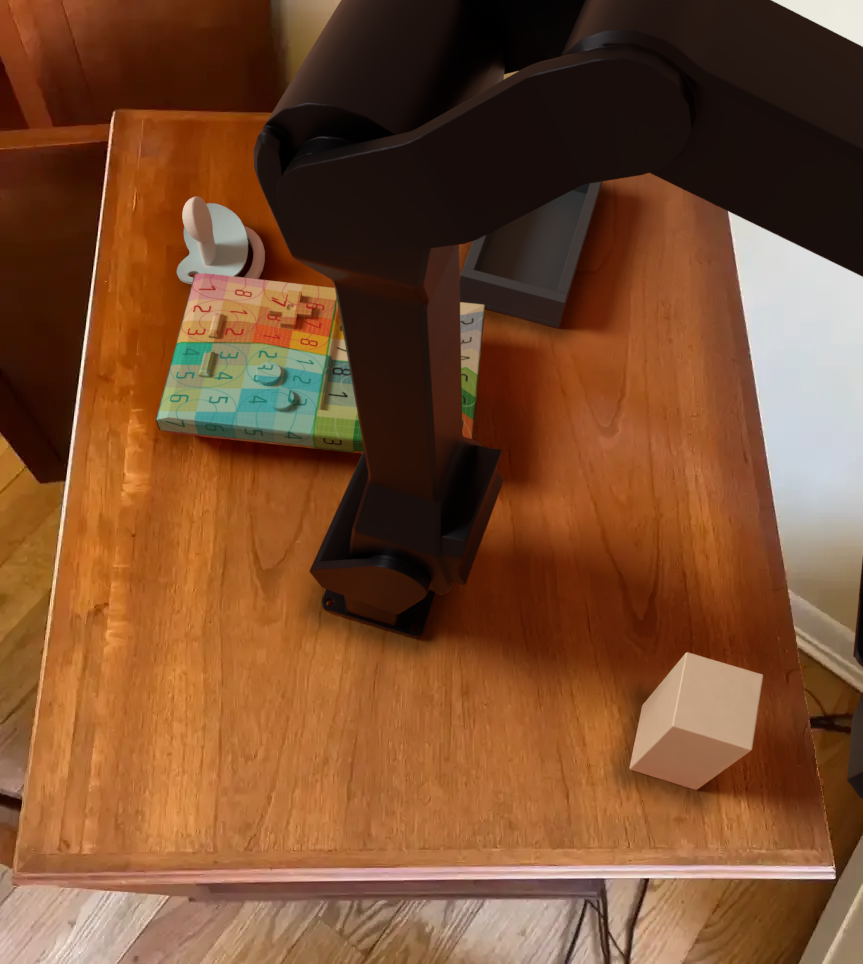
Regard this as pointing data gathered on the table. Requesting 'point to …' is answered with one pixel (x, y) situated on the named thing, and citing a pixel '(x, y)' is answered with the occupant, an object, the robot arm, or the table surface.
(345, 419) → the puzzle game
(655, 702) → the block
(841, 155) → the robot arm
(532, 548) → the table surface
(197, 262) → the pacifier
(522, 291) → the tray
